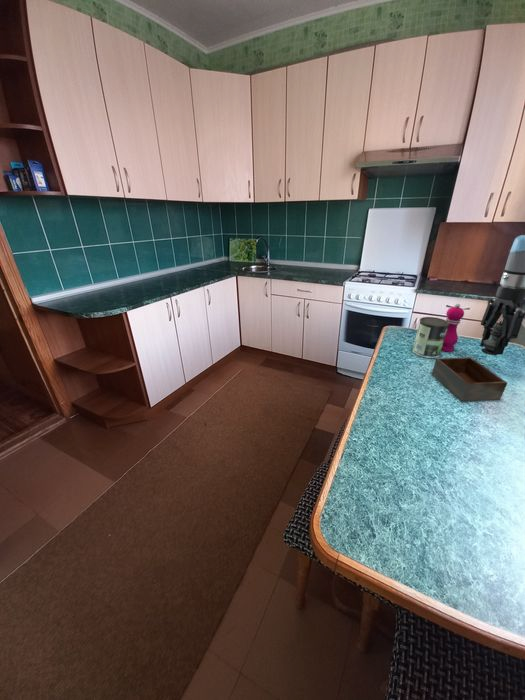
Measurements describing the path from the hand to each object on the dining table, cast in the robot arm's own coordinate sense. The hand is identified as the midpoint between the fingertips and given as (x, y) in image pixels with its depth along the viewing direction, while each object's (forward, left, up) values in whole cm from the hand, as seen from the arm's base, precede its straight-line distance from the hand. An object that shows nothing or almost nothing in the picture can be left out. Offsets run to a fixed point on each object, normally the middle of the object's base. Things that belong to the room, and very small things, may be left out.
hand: (490, 349), depth 104 cm
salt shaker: (0, 0, -1) cm, 1 cm away
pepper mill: (+3, -18, -9) cm, 20 cm away
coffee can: (+13, -15, -9) cm, 22 cm away
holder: (+14, +10, -8) cm, 19 cm away
